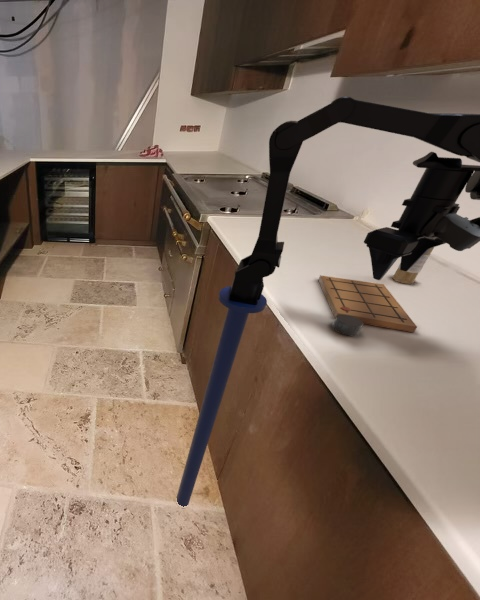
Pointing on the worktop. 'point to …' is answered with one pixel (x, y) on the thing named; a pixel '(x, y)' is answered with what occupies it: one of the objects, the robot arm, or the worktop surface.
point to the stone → (347, 325)
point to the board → (365, 303)
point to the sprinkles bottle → (411, 270)
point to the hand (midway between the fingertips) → (390, 274)
